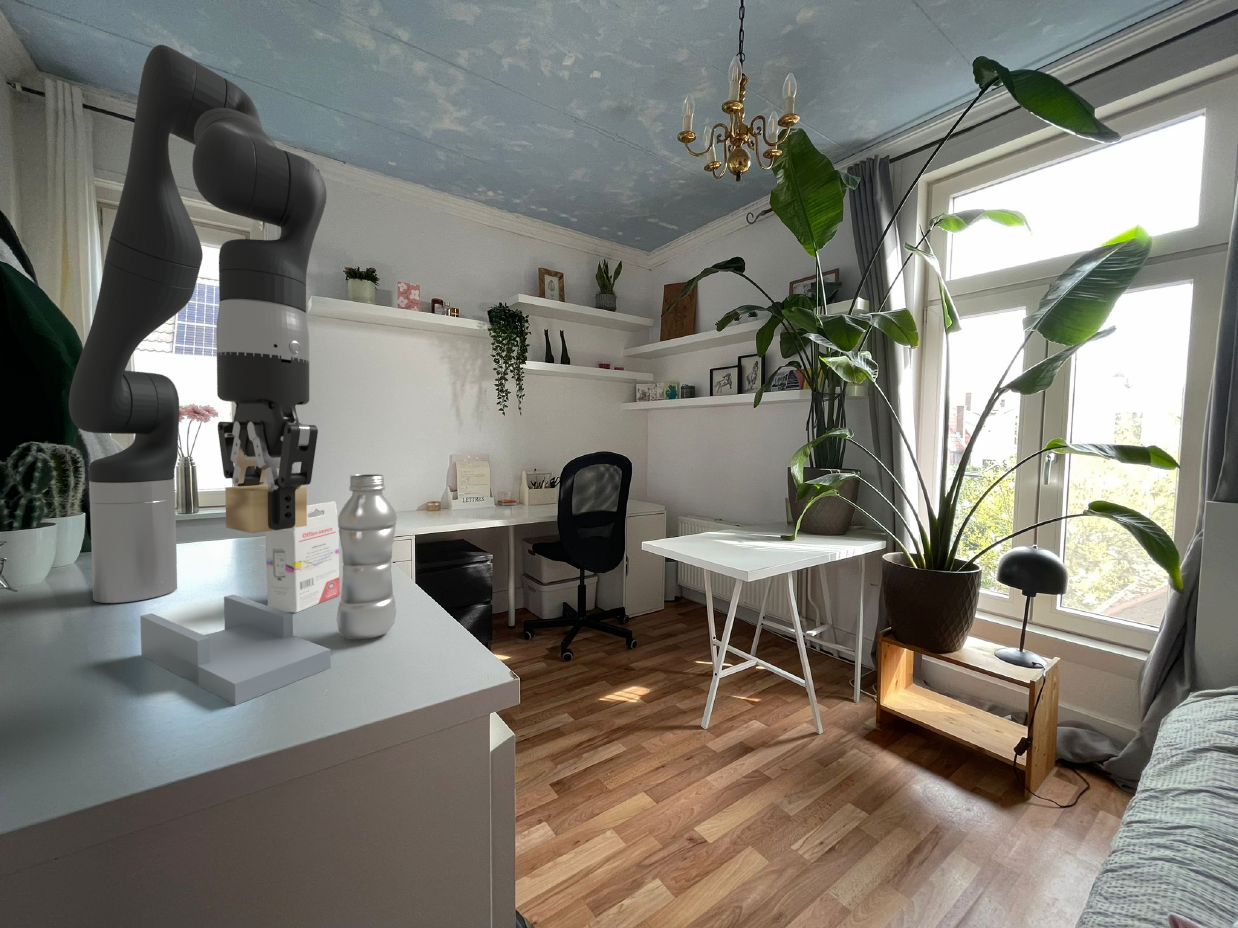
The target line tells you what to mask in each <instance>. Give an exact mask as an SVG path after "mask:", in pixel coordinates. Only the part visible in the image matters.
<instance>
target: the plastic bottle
mask: <svg viewBox="0 0 1238 928" xmlns="http://www.w3.org/2000/svg"><path fill="white" fill-rule="evenodd" d="M349 485H350V486H349V491H350V492H352V493H351V496H350V497H349V499H348V500H347V501H346V503H345V504H344V505H343V507H342V508H341V510H340V512H339V514H338V516H337V518H338V528H339V543H340V547H341V560H342V561H341V563H342V582H341V591H340V600H339V603H338V605H337V611H336V612H337V613H336V624H337V629H338V632H339V633H340V634H341V635H342V636H343V638H345V639H348V640H366V639H367V640H368V639H372V638H376V637H381V636H382V635H384V634H387V633H388V632H389V631H390V630H391V629H392V628H393V626H394V624H395V621H396V615H397V608H396V600H395V596H394V590H393V588H394V587H393V578H392V576H393V575H392V557H393V544H394V540H395V533H396V527H397V526H396V525H397V520H398V519H397V518H398V517H397V512H396V510H395V509H394V507H393V505H392V504H391V503H390V501H388V500H387V498H386V497H385V495H384V494H383V491H385V490H386V486H385V478H384V474H374V473H372V474H369V473H367V474H366V473H365V474H351V475H350V477H349Z"/></svg>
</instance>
